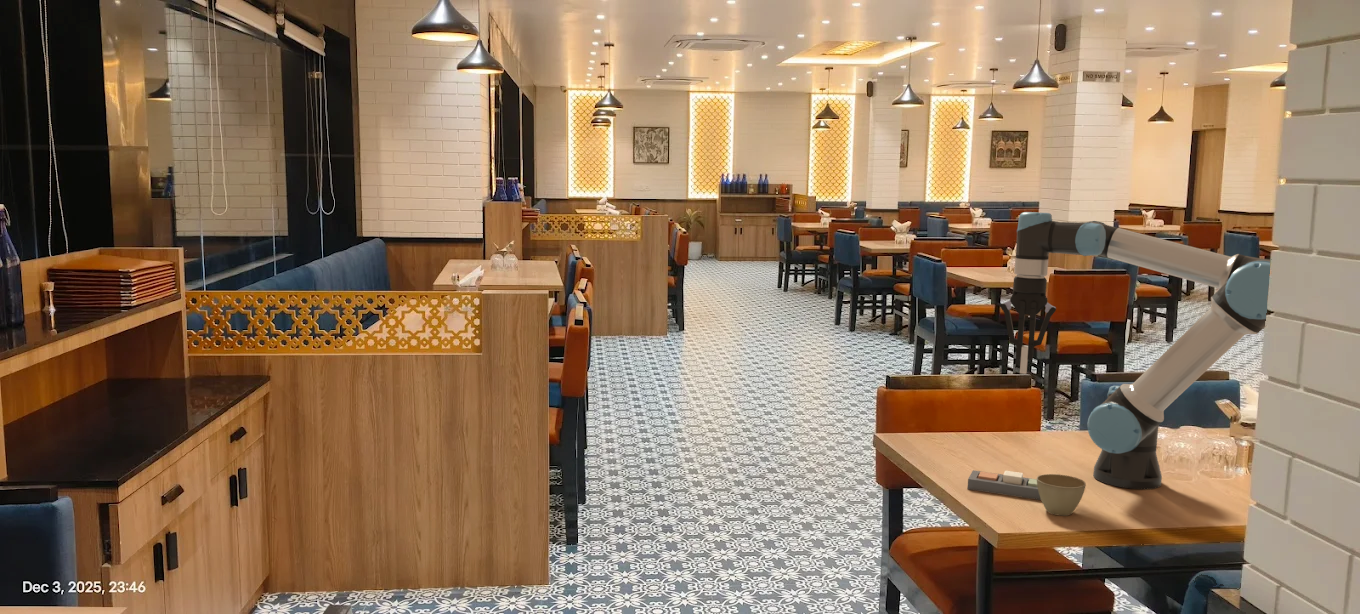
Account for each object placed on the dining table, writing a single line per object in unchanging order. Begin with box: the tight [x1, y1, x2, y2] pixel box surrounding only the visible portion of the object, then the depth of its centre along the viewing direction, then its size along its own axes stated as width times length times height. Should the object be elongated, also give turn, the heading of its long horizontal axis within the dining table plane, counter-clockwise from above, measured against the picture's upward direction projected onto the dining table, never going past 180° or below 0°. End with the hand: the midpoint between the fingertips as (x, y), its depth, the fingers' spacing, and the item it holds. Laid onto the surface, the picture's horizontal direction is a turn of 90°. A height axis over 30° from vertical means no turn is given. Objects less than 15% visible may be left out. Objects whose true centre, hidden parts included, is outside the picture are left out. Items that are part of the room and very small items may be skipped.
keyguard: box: [967, 469, 1042, 501], centre depth 227 cm, size 19×8×2 cm, turn 66°
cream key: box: [1003, 470, 1024, 485], centre depth 227 cm, size 4×4×2 cm
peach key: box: [978, 471, 999, 481], centre depth 229 cm, size 4×4×2 cm
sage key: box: [1028, 478, 1037, 487], centre depth 224 cm, size 4×4×2 cm
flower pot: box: [1036, 473, 1087, 517], centre depth 212 cm, size 10×10×7 cm
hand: (1023, 372), depth 238 cm, fingers closed
